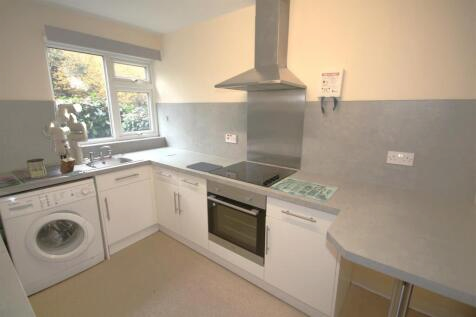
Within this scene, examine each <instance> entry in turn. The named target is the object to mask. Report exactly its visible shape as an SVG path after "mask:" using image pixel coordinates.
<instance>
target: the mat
mask: <svg viewBox="0 0 476 317" xmlns="http://www.w3.org/2000/svg"><path fill="white" fill-rule="evenodd" d="M82 171H83V170H82V169H81V170H80V169H79V170H74V171H73V172H69V173H65V174H63V173H61V176H69V175H70V176H71V177H72V176H73V177H74V176H78V175H82V174H85V172H83V173H79V172H82ZM70 176H69V177H70Z"/></svg>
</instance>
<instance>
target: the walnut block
mask: <svg viewBox="0 0 476 317" xmlns="http://www.w3.org/2000/svg"><path fill="white" fill-rule="evenodd" d="M60 161H61V162H60V166H59V167H60V168H59V172H60V173H61V174H65V173H69V172H73V171H75V170H74V169H75V165H74V164H75V159H73V158H72V157H71V156H70V157H67V158H65V159H61V158H60Z"/></svg>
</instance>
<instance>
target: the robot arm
mask: <svg viewBox="0 0 476 317" xmlns="http://www.w3.org/2000/svg"><path fill="white" fill-rule="evenodd" d="M81 112H82V106H81V105H80V104H79V103H63V104H60V105H58V111H57V117H55V118H54V119H52V120H51V121H50V123H49V124H48V125H49V126H48V133H49V135H50V136H53V141H54V147H55V148H54V149H55V155H57V156H58V157H59V158H60V160H61V159H65V158H68V157H69V155H70V157H71V158H73V159H75V164H74V166H75V165H76V166H78V165H83V164H84V165H85V164H86V163H87V162H86V161H88V160H89V158H88V157H86V158H84V154H83V150H82V146H81V144H80V143H86V142H88V141H89V135H88V128H87V124H86V123H85V122H83V121H77V116H76V115H75V114H81ZM62 124H66V126H59V125H62Z"/></svg>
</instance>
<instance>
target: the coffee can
mask: <svg viewBox="0 0 476 317" xmlns="http://www.w3.org/2000/svg"><path fill="white" fill-rule="evenodd" d="M26 163H27V166H28V167H27V168H28V171H29V176H30V179H38V178H43V177H46V176H48V174H47V169H46V165H45V159H44V158H33V159H28V160H26Z"/></svg>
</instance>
